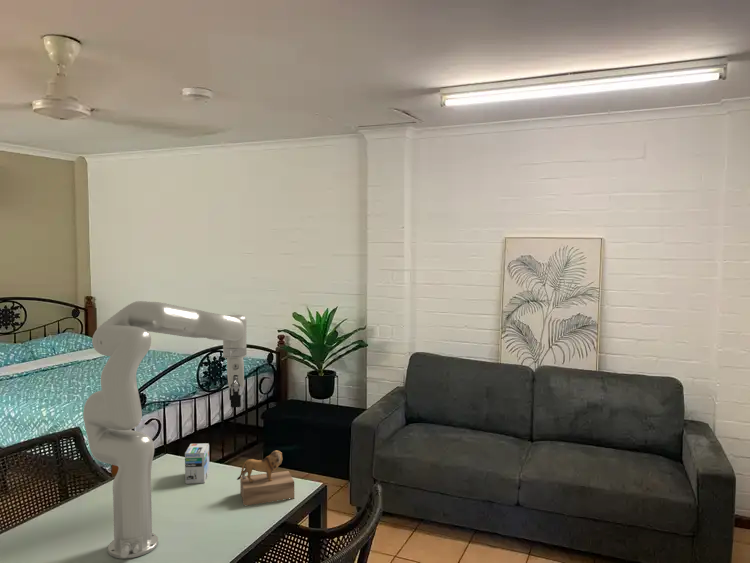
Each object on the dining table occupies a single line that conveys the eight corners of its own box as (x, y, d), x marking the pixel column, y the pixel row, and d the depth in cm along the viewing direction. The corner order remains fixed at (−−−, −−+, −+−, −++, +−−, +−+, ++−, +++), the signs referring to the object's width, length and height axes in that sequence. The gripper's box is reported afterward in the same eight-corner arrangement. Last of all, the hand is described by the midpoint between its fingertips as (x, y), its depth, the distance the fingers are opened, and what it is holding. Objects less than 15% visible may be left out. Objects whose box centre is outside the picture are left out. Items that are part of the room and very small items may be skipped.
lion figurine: (281, 474, 196) (281, 447, 195) (283, 480, 191) (283, 453, 190) (236, 478, 192) (236, 451, 192) (236, 484, 187) (236, 456, 187)
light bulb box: (204, 483, 202) (204, 452, 201) (184, 484, 201) (184, 453, 201) (209, 471, 213) (209, 442, 212) (190, 472, 212) (190, 443, 211)
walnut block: (294, 500, 190) (294, 481, 189) (244, 507, 185) (243, 488, 184) (288, 488, 199) (288, 470, 199) (240, 494, 194) (240, 476, 194)
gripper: (248, 356, 187) (248, 409, 188) (244, 347, 204) (244, 396, 204) (223, 357, 185) (224, 410, 186) (222, 348, 202) (222, 397, 202)
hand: (235, 403), depth 195 cm, fingers open, 9 cm apart
